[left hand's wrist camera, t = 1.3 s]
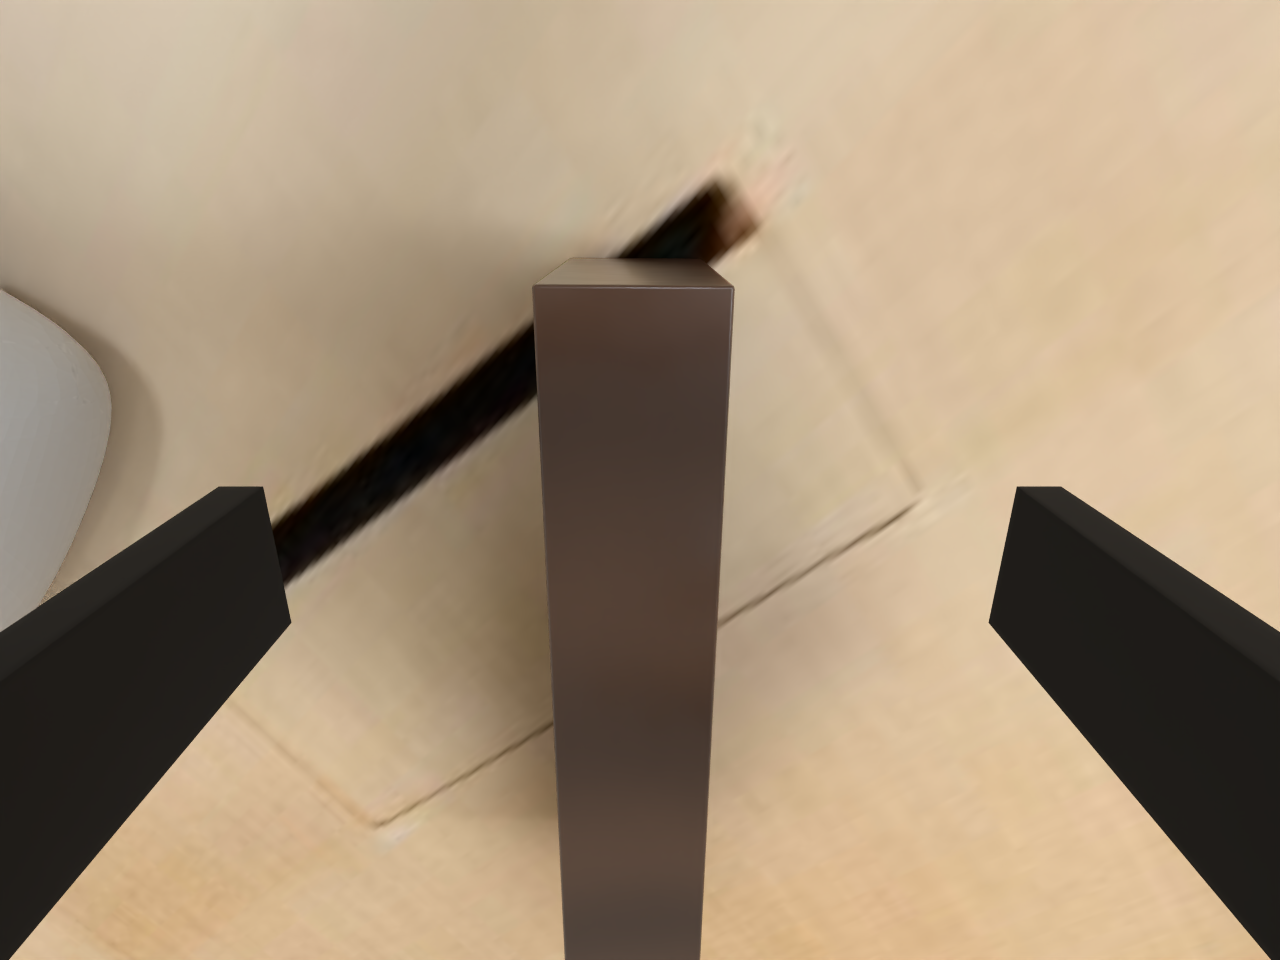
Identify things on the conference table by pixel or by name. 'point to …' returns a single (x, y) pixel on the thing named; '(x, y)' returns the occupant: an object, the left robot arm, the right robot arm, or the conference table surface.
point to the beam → (633, 587)
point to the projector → (44, 450)
